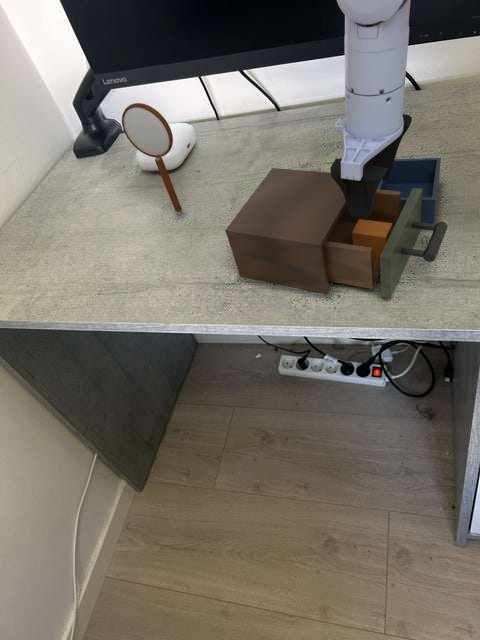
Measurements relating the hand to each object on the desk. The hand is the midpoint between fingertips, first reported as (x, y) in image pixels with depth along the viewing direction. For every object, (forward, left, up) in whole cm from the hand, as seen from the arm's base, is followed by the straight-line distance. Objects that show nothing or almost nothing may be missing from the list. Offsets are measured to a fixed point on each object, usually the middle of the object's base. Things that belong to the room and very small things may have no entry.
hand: (370, 196), depth 58 cm
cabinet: (+10, -5, -11) cm, 16 cm away
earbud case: (+36, -39, -11) cm, 54 cm away
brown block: (0, -1, -9) cm, 9 cm away
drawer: (0, 0, -10) cm, 10 cm away
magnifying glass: (+31, -19, -11) cm, 38 cm away
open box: (-6, -12, -11) cm, 18 cm away
